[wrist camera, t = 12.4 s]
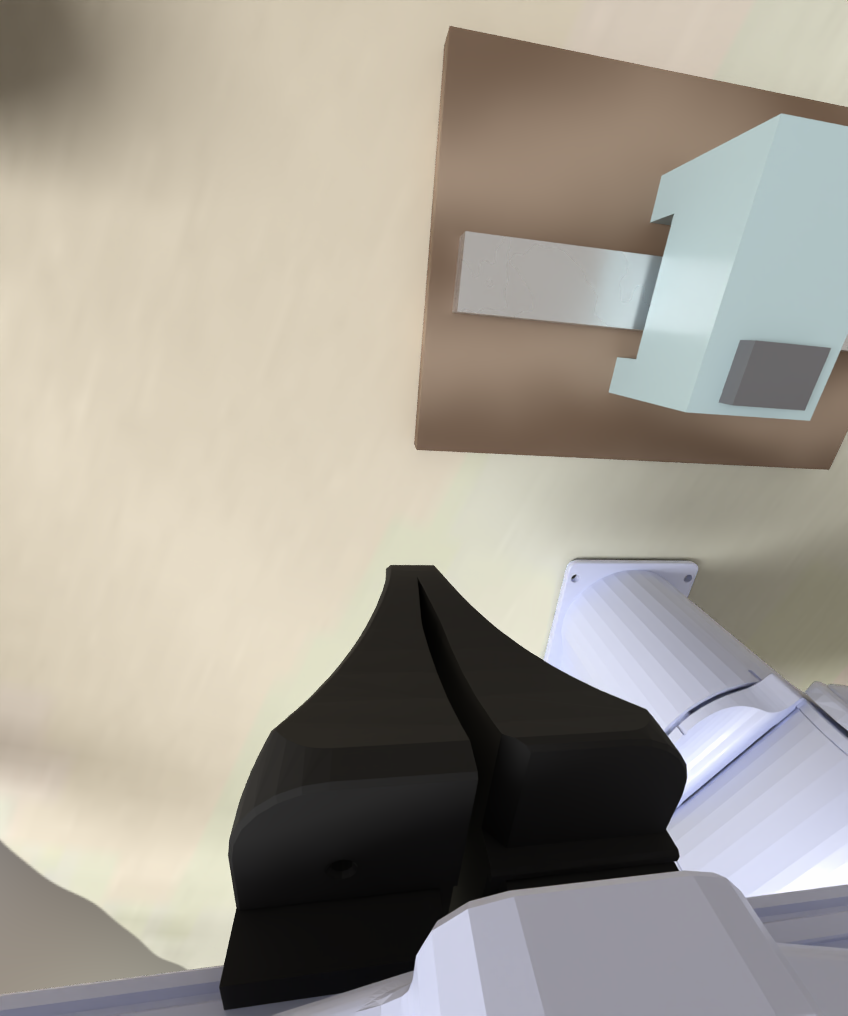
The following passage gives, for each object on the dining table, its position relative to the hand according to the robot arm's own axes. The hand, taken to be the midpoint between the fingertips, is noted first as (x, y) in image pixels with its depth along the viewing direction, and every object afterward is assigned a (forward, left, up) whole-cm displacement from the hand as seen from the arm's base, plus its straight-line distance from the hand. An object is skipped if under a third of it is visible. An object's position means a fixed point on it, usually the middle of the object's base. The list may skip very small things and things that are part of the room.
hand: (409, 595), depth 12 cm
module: (+9, -12, -8) cm, 17 cm away
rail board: (+9, -12, -9) cm, 18 cm away
